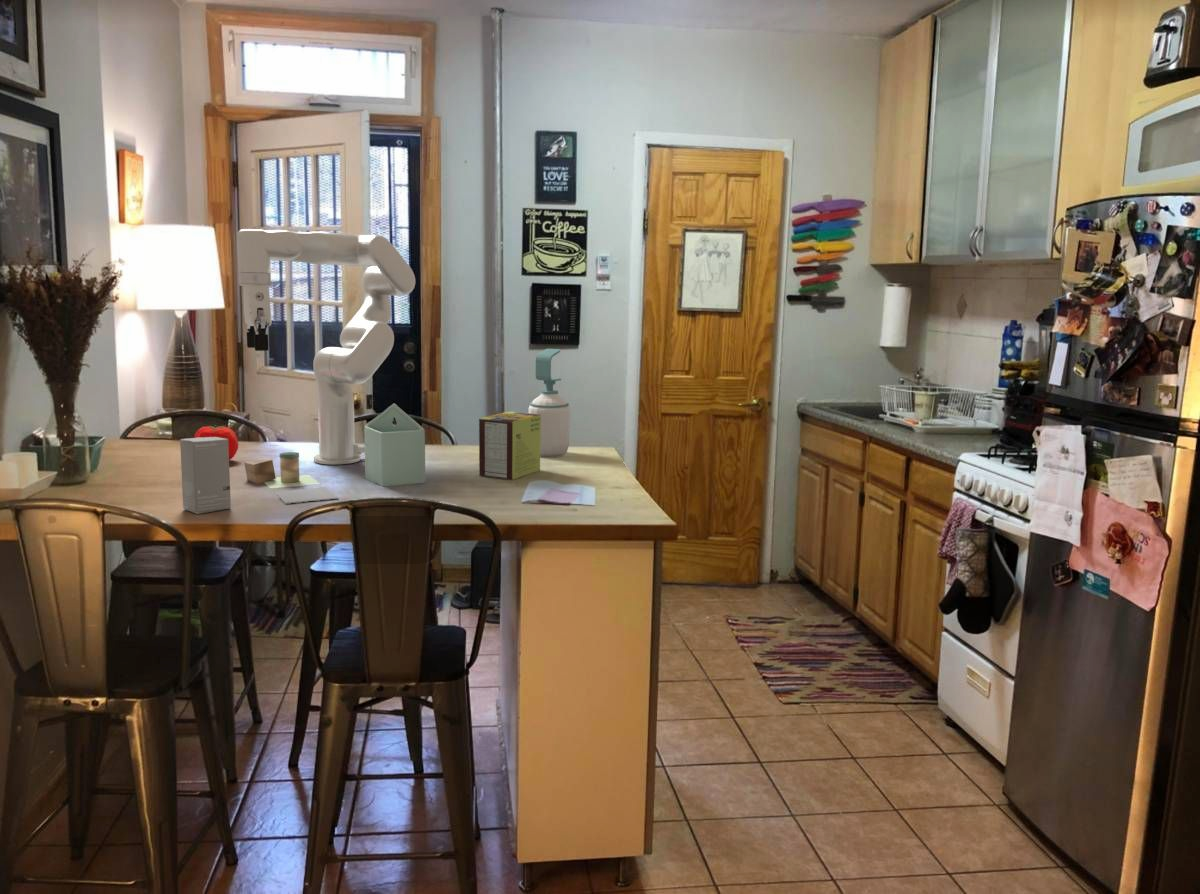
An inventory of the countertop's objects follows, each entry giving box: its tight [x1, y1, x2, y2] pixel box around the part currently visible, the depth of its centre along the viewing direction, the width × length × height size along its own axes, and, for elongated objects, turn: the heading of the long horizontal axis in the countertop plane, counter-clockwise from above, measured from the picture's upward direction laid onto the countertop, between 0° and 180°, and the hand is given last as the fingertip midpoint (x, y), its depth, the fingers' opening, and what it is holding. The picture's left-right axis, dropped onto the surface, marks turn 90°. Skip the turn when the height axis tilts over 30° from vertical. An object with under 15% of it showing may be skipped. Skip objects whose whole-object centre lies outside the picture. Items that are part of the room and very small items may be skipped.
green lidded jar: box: [279, 451, 300, 483], centre depth 234 cm, size 5×5×7 cm
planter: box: [364, 403, 426, 487], centre depth 236 cm, size 16×8×20 cm, turn 78°
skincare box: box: [179, 437, 232, 515], centre depth 206 cm, size 8×7×16 cm
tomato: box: [193, 424, 239, 461], centre depth 257 cm, size 12×12×10 cm
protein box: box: [478, 411, 541, 481], centre depth 252 cm, size 10×15×16 cm
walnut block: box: [243, 457, 276, 484], centre depth 234 cm, size 5×5×5 cm
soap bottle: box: [527, 348, 571, 458], centre depth 278 cm, size 12×12×31 cm
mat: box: [263, 474, 321, 489], centre depth 235 cm, size 12×12×1 cm
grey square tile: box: [274, 486, 339, 505], centre depth 221 cm, size 12×12×1 cm
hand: (257, 349), depth 238 cm, fingers open, 9 cm apart
